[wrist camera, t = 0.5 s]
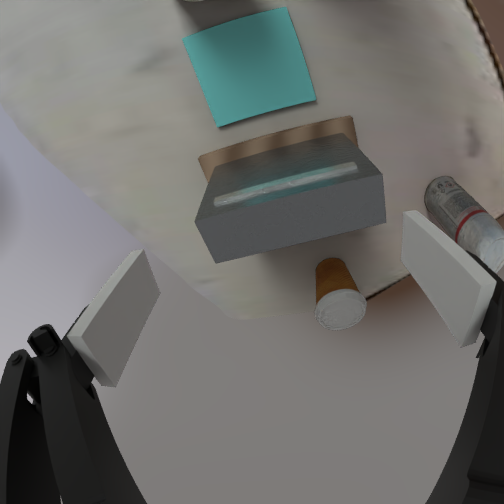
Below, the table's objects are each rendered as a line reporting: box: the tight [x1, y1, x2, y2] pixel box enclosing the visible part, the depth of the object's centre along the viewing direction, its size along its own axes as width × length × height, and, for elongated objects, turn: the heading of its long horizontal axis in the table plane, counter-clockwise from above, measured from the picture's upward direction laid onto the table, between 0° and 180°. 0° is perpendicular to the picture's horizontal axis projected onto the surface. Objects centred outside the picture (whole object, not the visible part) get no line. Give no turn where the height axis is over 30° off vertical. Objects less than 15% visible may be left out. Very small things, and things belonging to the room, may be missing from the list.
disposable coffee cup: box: [315, 258, 367, 330], centre depth 52 cm, size 10×10×12 cm
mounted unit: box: [195, 116, 386, 263], centre depth 37 cm, size 24×10×18 cm, turn 108°
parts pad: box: [182, 7, 316, 127], centre depth 34 cm, size 15×15×1 cm
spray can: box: [425, 176, 504, 273], centre depth 37 cm, size 8×8×20 cm
